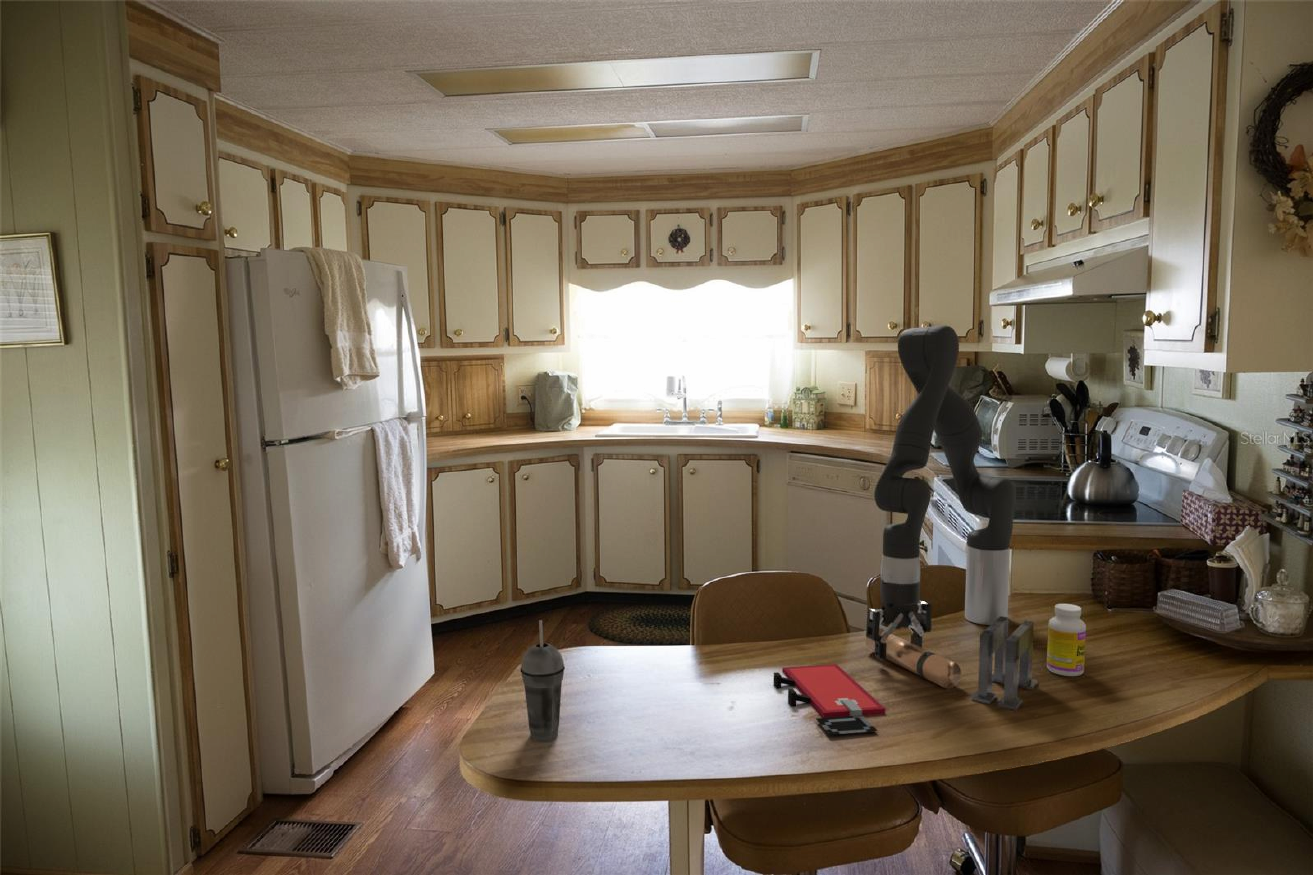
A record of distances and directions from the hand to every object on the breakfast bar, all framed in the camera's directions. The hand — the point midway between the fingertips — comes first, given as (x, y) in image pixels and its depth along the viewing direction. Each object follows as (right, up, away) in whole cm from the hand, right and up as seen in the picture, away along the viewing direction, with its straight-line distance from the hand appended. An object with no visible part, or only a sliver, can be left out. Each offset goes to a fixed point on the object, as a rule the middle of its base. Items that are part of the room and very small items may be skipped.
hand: (898, 656), depth 181 cm
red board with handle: (-17, -4, -17) cm, 25 cm away
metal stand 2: (+18, -3, -16) cm, 24 cm away
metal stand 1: (+14, -3, -13) cm, 19 cm away
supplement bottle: (+31, -2, -5) cm, 32 cm away
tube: (+2, -2, -3) cm, 4 cm away
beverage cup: (-67, -6, -31) cm, 74 cm away
